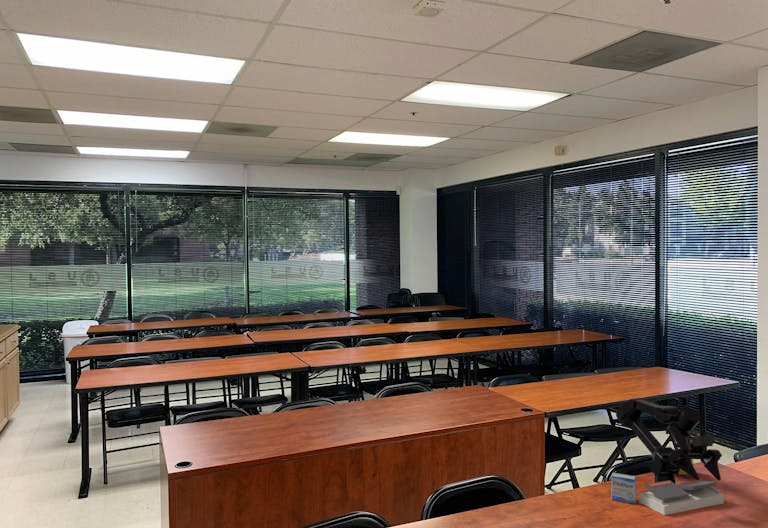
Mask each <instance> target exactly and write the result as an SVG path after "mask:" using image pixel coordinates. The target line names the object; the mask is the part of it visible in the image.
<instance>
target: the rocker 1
mask: <svg viewBox="0 0 768 528" xmlns="http://www.w3.org/2000/svg"><path fill="white" fill-rule="evenodd" d="M676 484H677V483H675V484H674V483H673V482H672V481H670V480H669V481H663V482H657V483H655V482H654V483H647V484H646V483H645V487H644V488H645V489H647V490H648V492H652V493H653V494H654V495H655V496H657V497H658V498H659V499H660V500H662V501H663V502H666V501H671V500H676V499H681V498H687V497H688V495H689V494H688V493H686V492H685V491H684V490H682V489H681V488H680V487H678V486H677V485H676Z"/></svg>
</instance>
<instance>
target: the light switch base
mask: <svg viewBox="0 0 768 528" xmlns="http://www.w3.org/2000/svg"><path fill="white" fill-rule="evenodd" d="M682 490H684V489H682ZM684 491H685V492H686V493H688V494H689V495H688V497H687V498H681V499H676V500H671V501H666V502H663V501H662V500H660V499H659V498H658V497H657V496H655V495H654V494H653V493H652V492H650V491H647V492H645V491H643V492H641V493H638V502H639V503H640V504H641V505H643V506H646V507H647V508H650V509H651V510H653V511H655V512H658V513H660V514H661V515H664V516H667V515H673V514H676V513H681V512H682V513H683V512H687V511H693V510H697V509H701V508H707V507H711V506H718V505H722V504H725V494H723V493H721V490H719V489H717V488H716V487H714V486H713V487H708V488H703V489H697V490H684Z"/></svg>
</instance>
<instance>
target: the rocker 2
mask: <svg viewBox="0 0 768 528" xmlns="http://www.w3.org/2000/svg"><path fill="white" fill-rule="evenodd" d="M675 484H676V485H677V486H678V487H680V488H681V489H684V490H697V489H703V488H708V487H713V488H714V487H717V486H718V485H717V482H716V481H709V480H696V479H694V480H691V481H686V482H679V483H675Z"/></svg>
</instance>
